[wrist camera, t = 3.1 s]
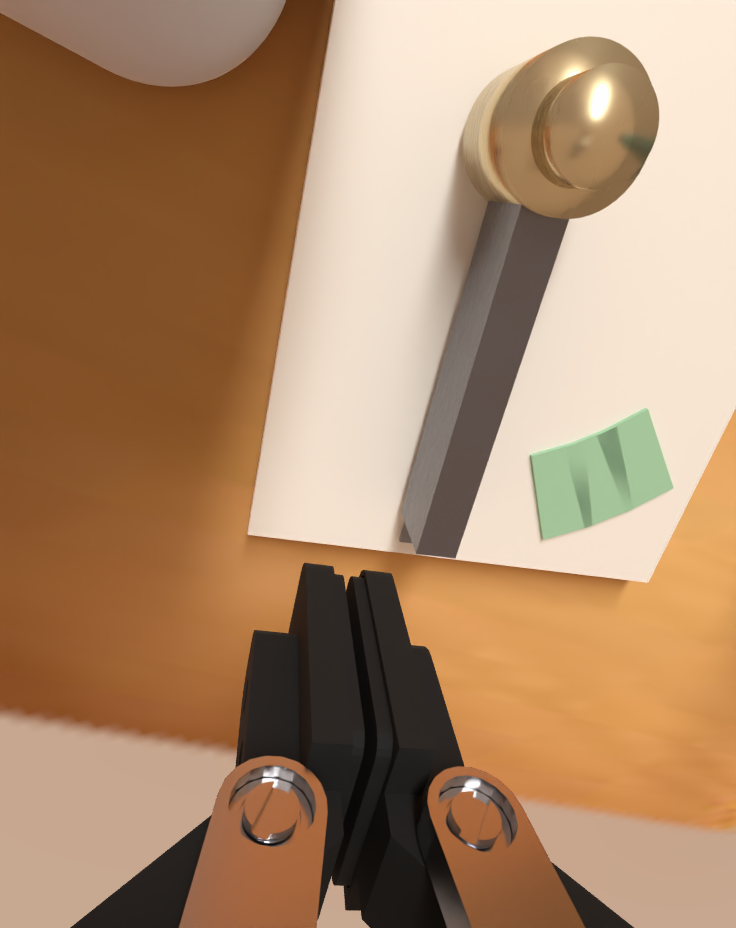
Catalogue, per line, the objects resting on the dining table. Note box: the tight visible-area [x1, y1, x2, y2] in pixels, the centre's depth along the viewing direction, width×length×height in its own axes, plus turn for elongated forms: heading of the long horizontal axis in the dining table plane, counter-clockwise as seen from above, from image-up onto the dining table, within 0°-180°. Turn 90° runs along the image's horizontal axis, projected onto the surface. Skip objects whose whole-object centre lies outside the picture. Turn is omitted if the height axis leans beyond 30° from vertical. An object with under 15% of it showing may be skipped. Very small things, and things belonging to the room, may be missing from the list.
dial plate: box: [247, 0, 736, 583], centre depth 24 cm, size 23×20×2 cm
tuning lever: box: [401, 36, 659, 558], centre depth 20 cm, size 17×4×6 cm, turn 168°
